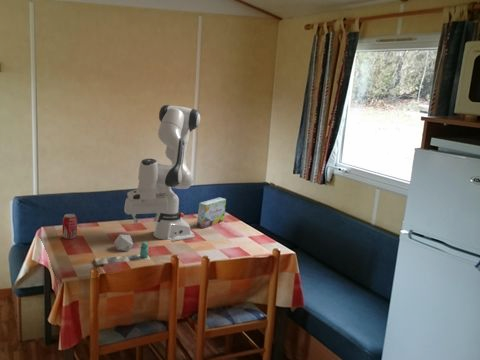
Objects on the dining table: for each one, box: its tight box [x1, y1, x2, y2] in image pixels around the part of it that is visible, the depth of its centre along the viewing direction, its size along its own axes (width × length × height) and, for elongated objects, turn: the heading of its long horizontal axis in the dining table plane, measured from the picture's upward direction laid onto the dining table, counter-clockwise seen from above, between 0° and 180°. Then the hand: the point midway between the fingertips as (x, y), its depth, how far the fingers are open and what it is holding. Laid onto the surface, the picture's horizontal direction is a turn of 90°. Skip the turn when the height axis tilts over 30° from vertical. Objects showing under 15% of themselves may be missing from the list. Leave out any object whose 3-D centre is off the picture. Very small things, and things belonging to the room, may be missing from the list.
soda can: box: [62, 213, 78, 240], centre depth 244 cm, size 7×7×12 cm
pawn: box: [139, 241, 149, 259], centre depth 226 cm, size 4×4×8 cm
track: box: [92, 254, 151, 268], centre depth 222 cm, size 26×7×1 cm, turn 117°
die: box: [113, 233, 134, 252], centre depth 234 cm, size 8×9×10 cm
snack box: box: [196, 196, 227, 229], centre depth 287 cm, size 21×6×15 cm, turn 147°
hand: (145, 221), depth 223 cm, fingers open, 8 cm apart
